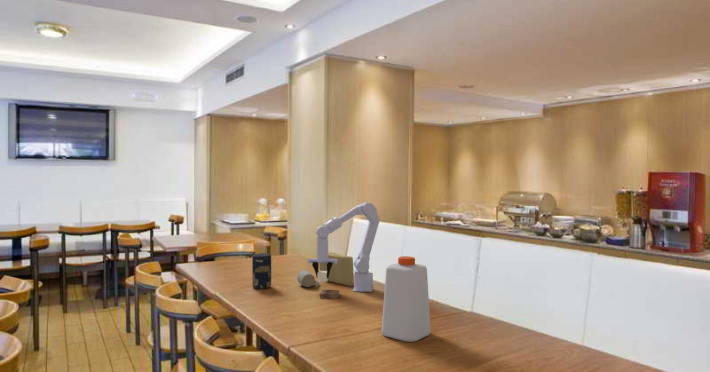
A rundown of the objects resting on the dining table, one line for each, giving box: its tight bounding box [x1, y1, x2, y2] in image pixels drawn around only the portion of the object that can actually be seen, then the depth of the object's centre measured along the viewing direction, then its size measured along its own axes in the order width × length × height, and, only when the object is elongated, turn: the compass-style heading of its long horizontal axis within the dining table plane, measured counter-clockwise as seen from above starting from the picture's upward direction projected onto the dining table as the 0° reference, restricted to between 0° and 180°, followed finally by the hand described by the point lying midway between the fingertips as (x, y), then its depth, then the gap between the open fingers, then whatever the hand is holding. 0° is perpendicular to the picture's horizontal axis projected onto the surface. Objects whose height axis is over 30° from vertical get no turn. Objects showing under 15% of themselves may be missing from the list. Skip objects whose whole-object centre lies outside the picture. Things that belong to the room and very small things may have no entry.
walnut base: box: [319, 289, 340, 300], centre depth 228 cm, size 8×8×2 cm
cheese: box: [319, 251, 355, 287], centre depth 257 cm, size 22×10×15 cm, turn 42°
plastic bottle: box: [381, 255, 432, 343], centre depth 173 cm, size 15×15×28 cm
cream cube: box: [316, 270, 329, 283], centre depth 237 cm, size 4×4×4 cm
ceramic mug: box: [296, 269, 320, 288], centre depth 249 cm, size 11×8×8 cm
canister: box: [251, 252, 272, 290], centre depth 244 cm, size 10×10×18 cm
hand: (322, 277), depth 237 cm, fingers closed on cream cube, 4 cm apart
